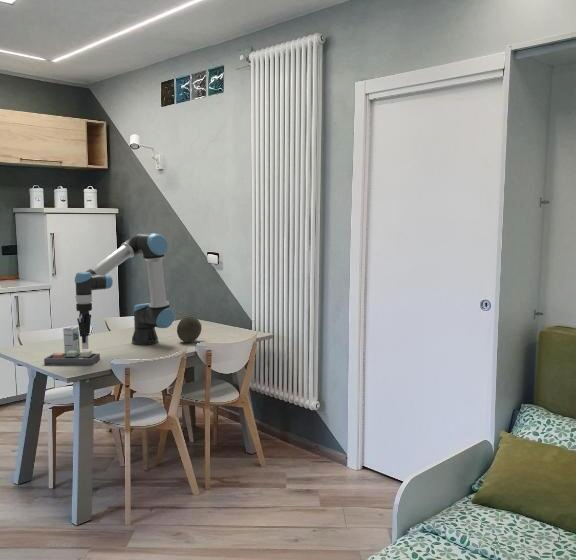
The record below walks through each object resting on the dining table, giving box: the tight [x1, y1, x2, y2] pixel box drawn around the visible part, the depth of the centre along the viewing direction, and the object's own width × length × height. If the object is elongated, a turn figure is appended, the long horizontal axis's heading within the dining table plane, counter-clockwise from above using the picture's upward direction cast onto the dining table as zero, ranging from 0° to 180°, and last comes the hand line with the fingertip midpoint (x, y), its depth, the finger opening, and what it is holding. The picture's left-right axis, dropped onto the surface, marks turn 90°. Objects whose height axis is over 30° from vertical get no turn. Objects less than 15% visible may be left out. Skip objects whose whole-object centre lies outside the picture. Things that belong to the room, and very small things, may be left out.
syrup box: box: [62, 325, 81, 353], centre depth 320 cm, size 6×6×14 cm
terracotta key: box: [53, 352, 65, 358], centre depth 302 cm, size 4×4×2 cm
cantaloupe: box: [176, 316, 202, 344], centre depth 349 cm, size 14×14×15 cm
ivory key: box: [79, 350, 93, 357], centre depth 301 cm, size 4×4×2 cm
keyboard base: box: [43, 352, 101, 366], centre depth 302 cm, size 24×12×4 cm, turn 88°
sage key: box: [66, 351, 78, 357], centre depth 302 cm, size 4×4×2 cm
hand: (85, 348), depth 301 cm, fingers closed
